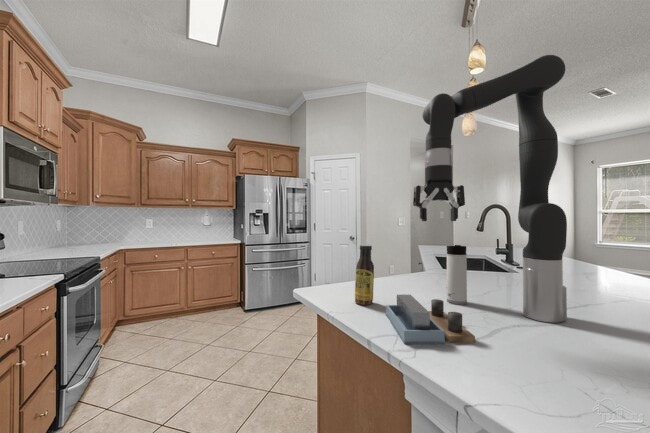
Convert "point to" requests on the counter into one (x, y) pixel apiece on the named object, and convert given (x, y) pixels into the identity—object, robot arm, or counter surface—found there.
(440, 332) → the slot tray
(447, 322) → the peg rack
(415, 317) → the steel bar
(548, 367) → the counter surface
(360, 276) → the sauce bottle
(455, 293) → the travel mug
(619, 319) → the counter surface
